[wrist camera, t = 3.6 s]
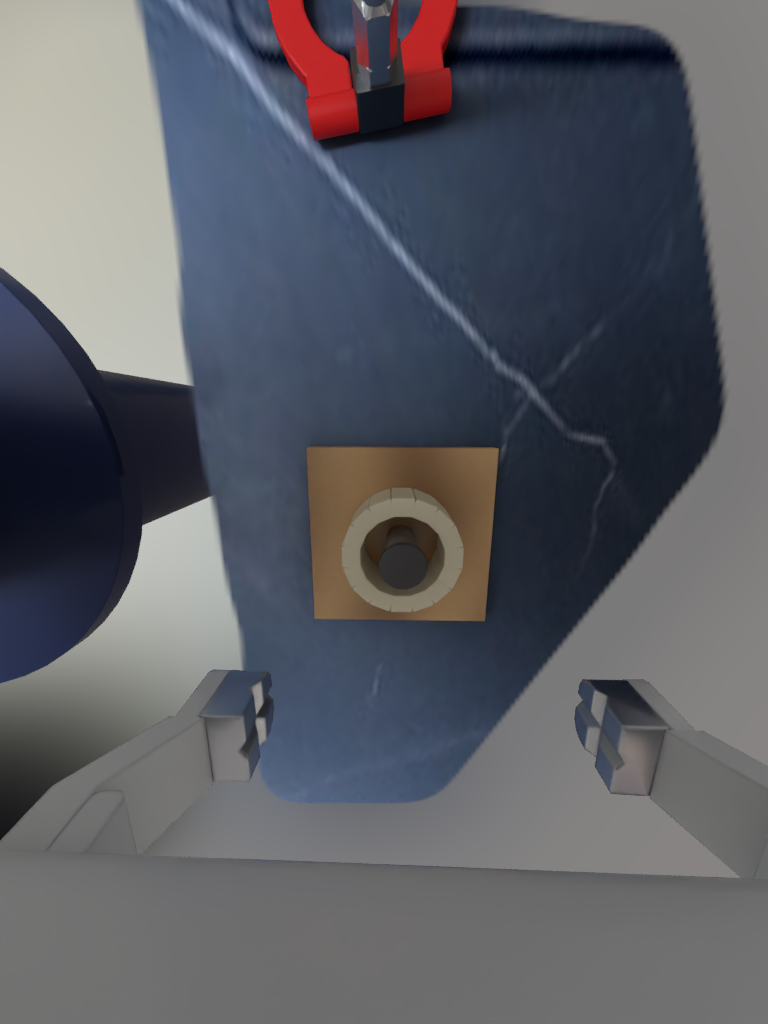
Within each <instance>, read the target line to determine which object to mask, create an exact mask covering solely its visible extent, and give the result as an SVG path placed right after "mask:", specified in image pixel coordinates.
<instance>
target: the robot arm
mask: <svg viewBox="0 0 768 1024" xmlns="http://www.w3.org/2000/svg"><path fill="white" fill-rule="evenodd" d="M271 686H272V682H271V674H270V673H269V672H261V671H240V670H232V671H231V670H212V671H210V672H209V673H208V674H207V675H206V676H205V678H204V679H203V680H202V682H201V683H200V685H199V686H198V687H197V688H196V690H195V691H194V693H193V694H192V695H191V696H190V698H189V699H188V700H187V702H186V703H185V705H184V706H183V707H182V708H181V710H180V711H179V713H178V714H177V715H176V716H175V717H173V716H172V717H170V716H169V717H168V718H166V719H164V720H163V721H161V722H159V723H158V724H156V725H154V726H152V727H151V728H149V729H147V730H146V731H144V732H142V733H141V734H139V735H137V736H136V737H134V738H132V739H131V740H129V741H127V742H126V743H124V744H122V745H120V746H119V747H117V748H115V749H114V750H112V751H110V752H109V753H107V754H105V755H104V756H102V757H101V758H98V759H97V760H95V761H93V762H92V763H90V764H88V765H87V766H85V767H83V768H82V769H80V770H78V771H77V772H75V773H73V774H71V775H70V776H68V777H66V778H65V779H63V780H62V781H60V782H58V783H56V784H55V785H53V786H52V787H51V788H50V789H49V790H48V791H47V792H46V793H45V794H44V795H43V796H42V797H41V798H40V799H39V800H38V801H37V802H36V803H35V805H34V806H33V807H32V808H31V809H30V810H29V811H28V812H27V813H26V814H25V815H24V816H23V817H22V818H21V819H20V821H18V822H17V824H16V825H15V826H14V827H13V828H12V829H11V830H10V831H9V832H8V833H7V834H6V835H5V836H4V837H3V838H2V840H0V1024H768V766H767V765H765V764H763V763H761V762H759V761H757V760H756V759H754V758H752V757H750V756H748V755H746V754H745V753H742V752H741V751H739V750H737V749H735V748H734V747H732V746H730V745H728V744H726V743H724V742H722V741H720V740H719V739H717V738H715V737H713V736H711V735H710V734H708V733H706V732H704V731H696V730H695V729H694V728H693V727H692V726H691V725H690V724H689V723H688V722H687V721H686V720H685V719H684V718H683V717H682V716H681V715H680V714H679V713H678V712H677V711H676V710H675V709H674V708H673V707H672V706H671V705H670V704H669V702H668V701H667V700H665V698H664V697H662V695H661V694H660V693H659V692H658V691H657V690H656V689H655V688H654V687H653V686H652V685H651V684H650V683H649V682H647V681H645V680H585V679H583V680H582V682H581V683H580V686H579V691H578V693H579V695H580V696H581V698H582V699H583V701H582V702H581V703H580V704H579V705H578V706H577V707H576V710H575V725H576V731H577V734H578V737H579V739H580V741H581V743H582V745H583V747H584V748H585V750H587V751H588V752H589V753H590V754H592V755H593V756H595V757H596V762H595V767H596V769H597V771H598V773H599V774H600V776H601V778H602V779H603V781H604V783H605V785H606V786H607V788H608V790H609V791H610V793H611V794H623V795H639V796H650V799H651V800H652V801H654V802H655V803H656V804H657V805H658V806H659V807H660V808H661V809H663V810H664V811H665V812H666V813H667V814H668V815H670V816H671V817H672V818H673V819H674V820H675V821H676V822H678V823H679V824H680V825H681V826H682V827H683V828H685V829H686V830H687V831H688V832H689V833H690V834H691V835H692V836H694V837H695V838H696V839H697V840H698V841H699V842H700V843H702V844H703V845H704V846H705V847H706V848H707V849H709V850H710V851H711V852H712V853H713V854H714V855H715V856H717V857H718V858H719V859H720V860H721V861H722V862H723V863H725V864H726V865H727V866H728V867H729V868H730V869H731V870H733V871H734V872H735V873H736V874H737V875H738V876H740V877H741V878H722V877H696V876H672V875H647V874H645V875H644V874H619V873H595V872H568V871H543V870H517V869H492V868H491V869H490V868H465V867H439V866H413V865H389V864H363V863H337V862H311V861H285V860H260V859H233V858H207V857H182V856H156V855H141V854H142V853H143V852H144V851H145V850H146V849H147V848H148V847H149V846H150V845H151V844H152V843H153V842H154V841H155V840H157V839H158V838H159V837H160V836H161V835H162V834H163V833H164V832H165V831H166V830H167V829H168V828H169V827H170V826H171V825H172V824H173V823H174V822H175V821H176V820H177V819H178V818H179V817H180V816H181V815H182V814H183V813H184V812H185V811H186V810H187V809H188V808H189V807H190V806H192V805H193V804H194V802H196V801H197V800H198V799H199V798H200V797H201V796H202V795H203V794H204V793H205V792H206V791H207V790H208V789H209V788H210V787H211V786H212V785H213V782H250V779H251V777H252V775H253V772H254V770H255V767H256V765H257V763H258V760H259V758H260V749H259V746H260V745H261V744H263V743H264V742H265V741H266V740H267V738H268V735H269V733H270V730H271V725H272V721H273V712H274V705H273V699H272V698H271V697H270V695H269V694H268V693H269V691H270V688H271Z"/></svg>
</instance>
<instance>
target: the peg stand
mask: <svg viewBox="0 0 768 1024" xmlns="http://www.w3.org/2000/svg"><path fill="white" fill-rule="evenodd" d="M306 451H307V472H308V492H309V513H310V533H311V553H312V574H313V594H314V615H315V619H354V620H431V621H485V615H486V602H487V590H488V578H489V566H490V553H491V541H492V529H493V517H494V504H495V492H496V480H497V467H498V455H499V448H496V447H404V446H309V447H307V448H306ZM389 488H390V489H392V488H412V490H413V489H417V490H419V491H421V492H424V493H426V494H429V495H431V496H432V498H435V499H436V500H437V501H438V502H439V503H440V504H441V505H442V506H443V507H444V508H445V509H446V511H447V512H448V514H449V516H450V517H451V519H452V520H453V522H454V524H455V525H456V527H457V530H458V532H459V535H460V538H461V540H462V543H463V547H464V554H463V568H462V571H461V573H460V575H459V577H458V579H457V581H456V583H455V585H454V587H453V589H451V591H450V592H449V593H447V594H446V595H445V596H444V597H443V598H442V599H440V600H439V601H438V602H437V603H434V605H432V606H429V607H427V608H424V609H421V610H418V611H415V612H414V611H413V609H412V612H391V610H389V611H386V610H384V609H381V608H379V607H376V606H374V605H371V604H370V602H366V601H365V600H364V599H363V598H362V597H361V596H360V595H359V594H357V593H356V592H355V591H354V590H353V587H351V585H350V583H349V581H348V579H347V577H346V575H345V573H344V571H343V568H344V567H342V543H343V540H344V538H345V535H346V533H347V530H348V528H349V525H350V523H351V520H352V518H353V516H354V513H355V511H356V510H357V509H358V508H359V507H360V506H361V505H362V504H363V503H364V502H365V501H366V500H367V499H368V498H369V497H372V495H374V494H376V493H379V492H381V491H384V490H386V489H389ZM437 536H438V534H437V533H436V532H435V531H434V530H433V529H432V528H431V527H430V526H429V525H428V524H427V523H425V522H422V521H420V520H417V519H415V518H412V517H393V518H391V519H388V520H386V521H383V522H380V523H378V524H377V525H376V526H375V527H374V528H373V529H372V530H371V531H370V532H369V533H368V534H367V535H366V538H365V549H366V551H367V553H368V555H369V558H370V559H371V560H372V561H373V562H374V563H375V564H376V565H377V566H378V567H379V572H380V575H381V577H382V579H383V580H384V581H385V583H387V584H388V585H389V586H391V587H393V588H396V589H401V590H406V589H411V588H413V587H415V586H417V585H418V584H420V583H421V582H422V581H423V579H424V578H425V576H426V573H427V568H428V565H427V563H428V562H429V561H430V560H431V558H432V556H433V554H434V552H435V550H436V548H437Z"/></svg>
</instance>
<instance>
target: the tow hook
mask: <svg viewBox="0 0 768 1024" xmlns="http://www.w3.org/2000/svg"><path fill="white" fill-rule="evenodd" d="M268 2H269V6H270V11H271V15H272V20H273V25H274V28H275V32H276V35H277V39H278V42H279V44H280V46H281V48H282V50H283V52H284V55H285V57H286V59H287V61H288V63H289V66H290V67H291V68H292V70H293V71H294V72H295V73H296V75H297V76H298V77H299V79H300V80H301V81H302V82H303V84H304V85H305V86H306V87H307V88H308V92H309V98H306V104H307V110H308V116H309V121H310V126H311V130H312V134H313V138H314V140H315V141H317V140H322V139H327V138H332V137H336V136H341V135H346V134H351V133H355V132H359V131H360V133H361V134H365V133H370V132H375V131H380V130H384V129H389V128H394V127H399V126H402V124H403V122H407V121H412V120H417V119H421V118H426V117H431V116H436V115H440V114H445V113H449V112H450V108H451V100H452V80H451V73H450V69H449V67H448V68H444V65H443V54H444V52H445V50H446V48H447V45H448V42H449V38H450V35H451V31H452V28H453V24H454V21H455V16H456V9H457V2H458V0H423V2H422V5H421V9H420V13H419V16H418V18H417V20H416V22H415V24H414V26H413V28H412V29H411V31H410V33H409V34H408V35H407V36H406V38H405V39H404V40H403V41H402V42H401V43H400V39H399V38H397V34H398V0H352V12H353V23H354V34H355V45H356V47H353V48H351V49H350V59H351V68H352V77H353V87H354V88H352V83H351V77H350V70H349V63H348V61H347V60H346V58H345V57H344V56H342V55H339V54H337V53H336V52H334V51H333V50H332V49H330V48H329V47H328V46H327V45H325V44H324V43H323V42H322V40H321V39H320V38H319V37H318V35H317V34H316V33H315V31H314V30H313V29H312V26H311V24H310V22H309V20H308V17H307V15H306V13H305V10H304V0H268Z"/></svg>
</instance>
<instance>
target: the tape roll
mask: <svg viewBox="0 0 768 1024" xmlns="http://www.w3.org/2000/svg"><path fill="white" fill-rule="evenodd" d="M393 517H412V518H415V519H417V520H420V521H422V522H425V523H427V524H428V525H429V526H430V527H431V528H432V529H433V530H434V531H435V532H436V533H437V534H438V536H437V548H436V550H435V552H434V554H433V556H432V558H431V560H430V561H429V562H428V563H427V565H428V568H427V573H426V576H425V578H424V579H423V581H422V582H421V583H420V584H418V585H417V586H415V587H413V588H411V589H406V590H401V589H396V588H393V587H391V586H389V585H388V584H387V583H385V581H384V580H383V579H382V577H381V575H380V572H379V567H378V566H377V565H376V564H375V563H374V562H373V561H372V560H371V559H370V558H369V555H368V553H367V551H366V549H365V538H366V535H367V534H368V533H369V532H370V531H371V530H372V529H373V528H374V527H375V526H376V525H377V524H378V523H380V522H383V521H386V520H388V519H391V518H393ZM463 554H464V547H463V543H462V540H461V538H460V535H459V532H458V530H457V527H456V525H455V524H454V522H453V520H452V519H451V517H450V516H449V514H448V512H447V511H446V509H445V508H444V507H443V506H442V505H441V504H440V503H439V502H438V501H437V500H436V499H435V498H432V496H431V495H429V494H426V493H424V492H421V491H419V490H417V489H413V490H412V488H392V489H390V488H389V489H386V490H384V491H381V492H379V493H376V494H374V495H372V497H369V498H368V499H367V500H366V501H365V502H364V503H363V504H362V505H361V506H360V507H359V508H358V509H357V510H356V511H355V513H354V516H353V518H352V520H351V523H350V525H349V528H348V530H347V533H346V535H345V538H344V540H343V543H342V567H344V568H343V571H344V573H345V575H346V577H347V579H348V581H349V583H350V585H351V587H353V590H354V591H355V592H356V593H357V594H359V595H360V596H361V597H362V598H363V599H364V600H365V601H366V602H370V604H371V605H374V606H376V607H379V608H381V609H384V610H386V611H389V610H391V612H412V609H413V611H414V612H415V611H418V610H421V609H424V608H427V607H429V606H432V605H434V603H437V602H438V601H439V600H440V599H442V598H443V597H444V596H445V595H446V594H447V593H449V592H450V591H451V589H453V587H454V585H455V583H456V581H457V579H458V577H459V575H460V573H461V571H462V568H463Z"/></svg>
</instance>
